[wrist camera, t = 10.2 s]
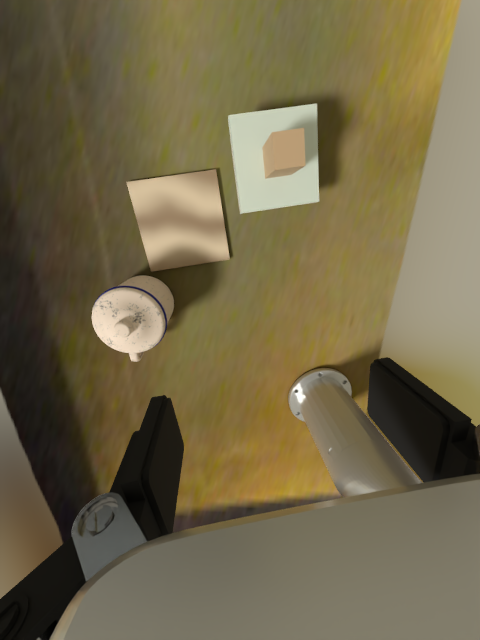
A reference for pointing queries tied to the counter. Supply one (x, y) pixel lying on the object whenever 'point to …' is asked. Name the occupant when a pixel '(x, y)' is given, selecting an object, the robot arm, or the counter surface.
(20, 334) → the counter surface
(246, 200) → the lid
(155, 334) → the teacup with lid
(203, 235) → the mat
